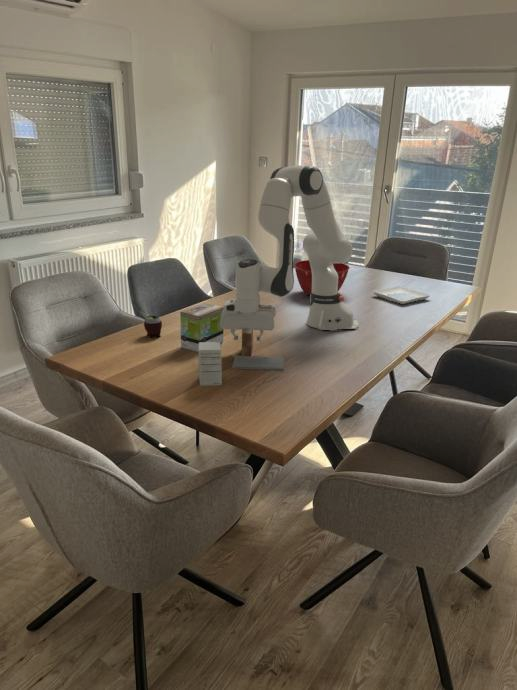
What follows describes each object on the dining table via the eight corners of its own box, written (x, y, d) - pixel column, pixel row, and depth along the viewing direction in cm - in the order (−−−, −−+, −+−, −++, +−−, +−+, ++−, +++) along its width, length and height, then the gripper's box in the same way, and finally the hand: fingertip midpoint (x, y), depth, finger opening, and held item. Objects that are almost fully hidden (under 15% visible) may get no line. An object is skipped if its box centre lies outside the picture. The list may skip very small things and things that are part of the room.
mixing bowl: (356, 292, 281) (358, 264, 276) (333, 305, 259) (335, 274, 253) (308, 284, 295) (309, 257, 290) (283, 296, 273) (283, 266, 267)
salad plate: (430, 301, 269) (431, 294, 268) (402, 307, 258) (403, 300, 257) (398, 291, 286) (399, 285, 285) (370, 297, 274) (371, 290, 273)
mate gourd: (141, 337, 214) (139, 301, 208) (152, 331, 220) (149, 296, 215) (157, 340, 211) (155, 304, 206) (167, 334, 218) (166, 298, 212)
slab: (252, 348, 204) (253, 323, 200) (251, 356, 197) (251, 330, 193) (243, 348, 204) (243, 323, 201) (241, 355, 197) (241, 330, 193)
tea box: (201, 353, 199) (200, 315, 193) (180, 348, 204) (178, 311, 198) (224, 341, 211) (224, 306, 205) (204, 336, 216) (203, 301, 210)
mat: (284, 359, 194) (284, 357, 194) (283, 370, 185) (283, 368, 184) (235, 357, 195) (235, 355, 195) (232, 368, 186) (232, 366, 185)
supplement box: (199, 376, 179) (198, 341, 174) (221, 376, 180) (221, 341, 175) (199, 386, 172) (198, 350, 168) (222, 385, 173) (221, 349, 168)
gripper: (276, 303, 196) (275, 338, 201) (221, 301, 197) (221, 336, 202) (275, 308, 190) (274, 344, 195) (219, 306, 191) (219, 342, 196)
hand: (247, 340), depth 199 cm, fingers open, 7 cm apart
